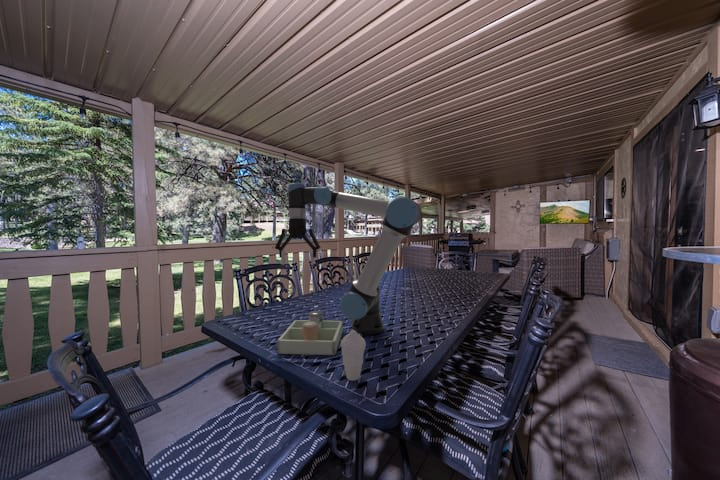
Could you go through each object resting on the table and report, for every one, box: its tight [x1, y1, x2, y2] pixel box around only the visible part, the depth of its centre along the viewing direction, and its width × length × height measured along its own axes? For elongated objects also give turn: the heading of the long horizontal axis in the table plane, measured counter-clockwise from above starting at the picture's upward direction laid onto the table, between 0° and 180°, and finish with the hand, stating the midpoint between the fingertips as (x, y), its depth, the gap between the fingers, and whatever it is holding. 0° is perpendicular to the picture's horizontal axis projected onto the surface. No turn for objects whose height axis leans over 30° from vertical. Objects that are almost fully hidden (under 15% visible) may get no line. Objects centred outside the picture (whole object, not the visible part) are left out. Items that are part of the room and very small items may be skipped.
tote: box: [276, 319, 344, 356], centre depth 112 cm, size 22×22×6 cm
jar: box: [302, 322, 318, 340], centre depth 108 cm, size 6×6×9 cm
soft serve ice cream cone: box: [339, 329, 367, 382], centre depth 87 cm, size 8×8×16 cm
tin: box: [308, 310, 324, 328], centre depth 118 cm, size 6×6×10 cm
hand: (298, 264), depth 124 cm, fingers open, 13 cm apart
